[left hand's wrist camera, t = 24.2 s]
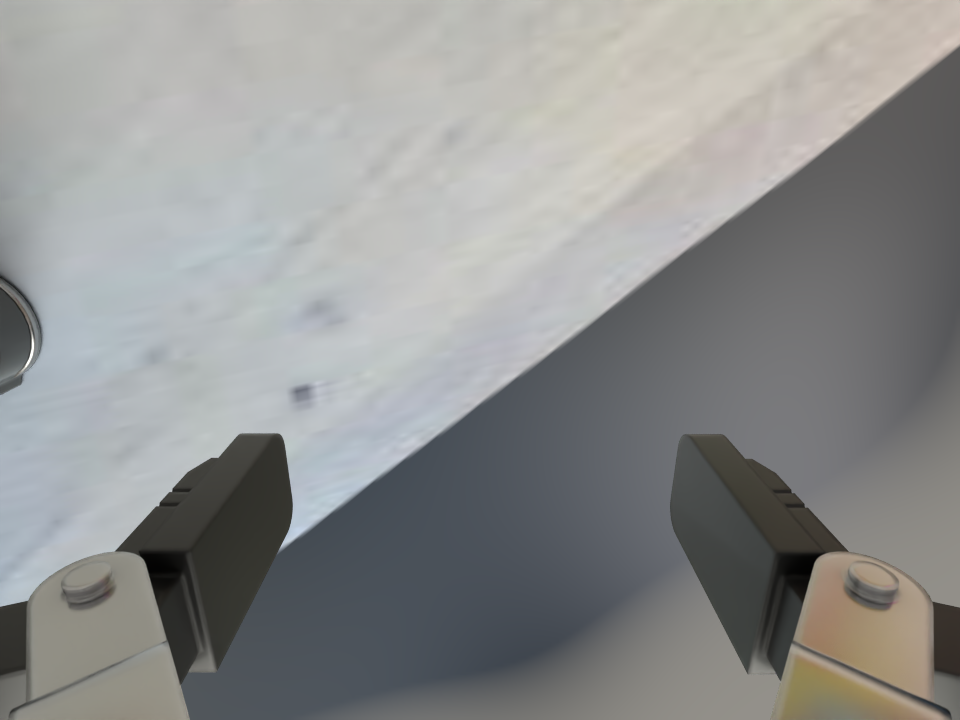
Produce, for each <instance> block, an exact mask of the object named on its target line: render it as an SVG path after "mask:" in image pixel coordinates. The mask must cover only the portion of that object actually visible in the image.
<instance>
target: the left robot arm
mask: <svg viewBox="0 0 960 720" xmlns="http://www.w3.org/2000/svg"><path fill="white" fill-rule="evenodd" d="M40 347H41V333H40V328H39V324H38V321H37V319H36V316H35V314H34V312H33V310H32V309H31V307H30V305H29V304H28V303H27V301H26V300H25V299H24V297H23V296H22V295H21V294H20V293H19V292H18V291H17V290H16V289H15V288H14V287H13V286H11V285H10V284H9V283H8V282H6V281H5V280H3V279H2V278H0V395H2V394H4V393H6V392H8V391H10V390H12V389H14V388H16V387H18V386H20V385H21V383H22V380H21V378H22V374H23V373H25V372H26V371H27V370H28V369H30V368H31V367H32V365H33V364H34V363H35V361H36V359H37V357H38V355H39V351H40ZM292 510H293V502H292V494H291V486H290V479H289V472H288V465H287V458H286V450H285V444H284V440H283V438H282V436H281V435H280V434H239V435H238V436H237V437H236V438H235V439H234V441H233V442H232V443H231V444H230V445H229V446H228V447H227V449H226V450H225V451H224V452H223V453H222V454H221V456H220V457H219V458H211V459H209V460H207V461H206V462H204V463H202V464H201V465H199V466H197V467H196V468H194V469H192V470H191V471H189V472H188V473H187V474H186V475H185V476H184V477H183V478H182V479H181V480H180V481H179V482H178V483H177V484H176V486H175V487H174V488H173V491H172V492H169V493H168V494H167V495H166V496H165V498H164V499H163V500H162V501H161V502H160V505H159V506H156V507H155V508H154V509H153V511H152V512H151V513H150V514H149V515H148V516H147V517H146V518H145V519H144V520H143V521H142V523H141V524H140V525H139V526H138V527H137V528H136V529H135V530H134V531H133V532H132V533H131V534H130V536H129V537H128V538H127V539H126V540H125V541H124V542H123V543H122V544H121V545H120V546H119V548H118V549H117V550H116V551H115V552H108V553H102V554H97V555H93V556H90V557H87V558H84V559H81V560H79V561H76V562H74V563H72V564H70V565H68V566H66V567H64V568H62V569H60V570H59V571H57V572H55V573H54V574H53V575H51V576H50V577H48V578H47V579H46V580H45V581H43V582H42V583H41V584H40V585H39V586H38V587H37V588H36V589H35V591H34V592H33V593H32V595H31V596H30V598H29V600H28V601H25V602H21V603H16V604H11V605H7V606H2V607H0V720H190V719H189V715H188V711H187V708H186V704H185V701H184V697H183V693H182V690H181V686H180V685H181V684H182V682H183V680H184V678H185V677H186V675H187V673H188V672H217V670H218V668H219V666H220V664H221V662H222V660H223V658H224V656H225V654H226V652H227V650H228V648H229V647H230V645H231V643H232V641H233V639H234V637H235V635H236V633H237V631H238V629H239V627H240V625H241V623H242V621H243V619H244V617H245V615H246V613H247V611H248V609H249V607H250V605H251V603H252V601H253V599H254V597H255V595H256V594H257V592H258V590H259V588H260V586H261V584H262V582H263V580H264V578H265V576H266V574H267V572H268V570H269V568H270V566H271V564H272V562H273V560H274V558H275V556H276V554H277V552H278V550H279V548H280V546H281V544H282V542H283V541H284V539H285V537H286V535H287V533H288V530H289V527H290V524H291V519H292ZM670 512H671V521H672V525H673V529H674V532H675V534H676V536H677V538H678V540H679V542H680V543H681V545H682V547H683V549H684V551H685V553H686V555H687V557H688V559H689V561H690V563H691V565H692V567H693V569H694V571H695V573H696V575H697V577H698V578H699V580H700V582H701V584H702V586H703V588H704V590H705V592H706V594H707V596H708V598H709V600H710V602H711V604H712V606H713V608H714V610H715V611H716V613H717V615H718V617H719V619H720V621H721V623H722V625H723V627H724V629H725V631H726V633H727V635H728V637H729V639H730V641H731V643H732V644H733V646H734V648H735V650H736V652H737V654H738V656H739V658H740V660H741V662H742V664H743V666H744V668H745V670H746V672H747V674H777V676H778V678H779V679H780V681H781V683H780V686H779V690H778V693H777V697H776V701H775V704H774V708H773V711H772V715H771V718H770V720H960V608H959V607H954V606H949V605H945V604H940V603H935V602H932V600H931V598H930V596H929V595H928V593H927V592H926V591H925V589H924V588H923V587H922V586H921V585H920V584H919V583H918V582H916V581H915V580H914V579H913V578H912V577H910V576H909V575H907V574H906V573H905V572H903V571H901V570H900V569H898V568H896V567H894V566H892V565H890V564H888V563H886V562H884V561H881V560H879V559H876V558H873V557H870V556H867V555H863V554H858V553H852V552H848V550H847V549H846V548H845V547H844V546H843V545H842V544H841V543H840V542H839V541H838V540H837V539H836V538H835V536H834V535H833V534H832V533H831V532H830V531H829V530H828V529H827V528H826V527H825V526H824V525H823V524H822V522H821V521H820V520H819V519H818V518H817V517H816V516H815V515H814V514H813V513H812V512H811V511H810V510H809V508H805V506H804V503H803V502H802V501H801V500H800V499H799V498H798V497H797V496H796V494H794V493H792V492H791V489H790V488H789V487H788V486H787V485H786V484H785V483H784V482H783V480H782V479H781V478H780V477H779V476H778V475H777V474H776V473H775V472H773V471H771V470H770V469H768V468H766V467H765V466H763V465H761V464H760V463H758V462H756V461H755V460H753V459H745V458H744V457H743V456H742V455H741V454H740V452H739V451H738V450H737V449H736V448H735V447H734V446H733V444H732V443H731V442H730V441H729V440H728V439H727V438H726V437H725V436H724V435H721V434H685V435H683V436H682V437H681V439H680V441H679V445H678V452H677V459H676V466H675V473H674V480H673V487H672V494H671V502H670Z"/></svg>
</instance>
